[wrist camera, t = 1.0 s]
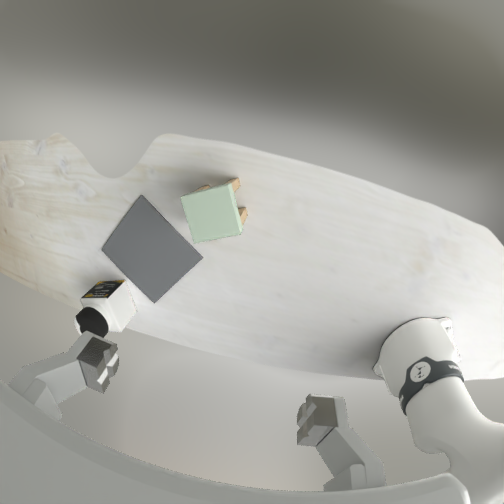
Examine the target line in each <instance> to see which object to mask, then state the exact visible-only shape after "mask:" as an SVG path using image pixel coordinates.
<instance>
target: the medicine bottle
mask: <svg viewBox="0 0 504 504" xmlns="http://www.w3.org/2000/svg"><path fill="white" fill-rule="evenodd" d="M80 301H81V303H82V306H83V309H82V310H81V311H80V312H79V313H78V314H77V315H76V317H75V319H74V324H75V328H76V330H77V331H78V333H79V334H80V335H82V333H83V332H85V331H89V332H91V333H93V334H95V335H98V336H100V337H102V338H104V336H105V335H106V334H107V333H108V331H109V332H122V330H123V329H124V328H125V326H126V325H127V324H128V323H129V321H130V320H131V319H132V317H133V316H134V315H135V314H136V312H137V309H136V307H135V304H134V301H133V299H132V296H131V294H130V291H129V288H128V286H127V283H126V281H125V280H115V281H100V282H98V283H97V284H96V285H95V286H94V287H93V288H91V289H90V290H89V291H88V292H87V293H86V294H85V295H84V296H83V297H82V298H81V299H80Z"/></svg>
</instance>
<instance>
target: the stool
mask: <svg viewBox="0 0 504 504" xmlns="http://www.w3.org/2000/svg"><path fill="white" fill-rule="evenodd" d="M239 187H240V183H239V179H238V178H236V179H232V180H229V181H228V182H227V183H225V184H223V185H219V186H215V187H211V188H210V186H209V185H207V186H203V187H201V188H199V189H197V190H196V191H194V192H192V193H188V194H185V195H183V196H182V197H180V199H181V202H182V205H183V209H184V212H185V215H186V219H187V222H188V225H189V229H190V232H191V235H192V238H193V241H194V244H195V243H200V242H205V241H210V240H215V239H220V238H225V237H230V236H236V235H241V233H242V231H243V227H242V226H243V224H244V222H245V220H246V218H247V216H248V214H247V210H246V208H241V209H238V207H237V203H236V200H235V196H234V192H235V191H236V190H237V189H238V188H239Z"/></svg>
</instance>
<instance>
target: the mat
mask: <svg viewBox="0 0 504 504" xmlns="http://www.w3.org/2000/svg"><path fill="white" fill-rule="evenodd" d="M102 251H103V252H104V253H105V254H106V255H107V256H108V257H109V258H110V260H111V261H112V262H113V263H114V264H115V265H116V266H117V267H118V268H119V269H120V270H121V271H122V272H123V273H124V274H125V275H126V276H127V277H128V278H129V279H130V280H131V281H132V282H133V283H134V284H135V285H136V286H137V287H138V288H139V289H140V290H141V291H142V292H143V293H144V294H145V295H146V296H147V297H148V298H149V299H150V300H151V301H152V302H153V303H155V302H156V301H158V300H159V299H160V298H161V297H162V296H163V295H164V294H165V293H166V292H167V291H168V290H169V289H170V288H171V287H172V286H173V285H174V284H175V283H177V282H178V281H179V280H180V279H181V278H182V277H183V276H184V275H185V274H186V273H187V272H188V271H189V270H190V269H191V268H193V267H194V266H195V265H196V264H197V263H198V262H199V261H200V260H201V259H202V258H203V257H202V256H201V255H200V254H199V253H198V252H197V251H196V250H195V249H194V248H193V247H192V246H191V245H190V244H189V243H188V242H187V241H186V240H185V239H184V238H183V237H182V236H181V235H180V234H179V233H178V232H177V231H176V230H175V229H174V228H173V227H172V226H171V225H170V224H169V223H168V222H167V220H166V219H165V218H164V217H163V216H162V215H161V214H160V213H159V212H158V211H157V210H156V209H155V208H154V207H153V206H152V205H151V204H150V203H149V202H148V201H147V200H146V199H145V198H144V197H143V195H141V196H140V198H139V199H138V200H137V201H136V203H135V204H134V205H133V207H132V208H131V209H130V210H129V212H128V213H127V214H126V216H125V217H124V219H123V220H122V221H121V223H120V224H119V225H118V227H117V228H116V230H115V231H114V232H113V234H112V235H111V237H110V238H109V240H108V241H107V242H106V244H105V245H104V247H103V248H102Z"/></svg>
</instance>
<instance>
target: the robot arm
mask: <svg viewBox="0 0 504 504" xmlns="http://www.w3.org/2000/svg"><path fill="white" fill-rule="evenodd" d="M117 350H118V348H117V344H115V343H113V342H111V341H108V340H106V339H104V338H102V337H100V336H98V335H95V334H93V333H91V332H89V331H85V332H83V333H82V335H81V336H80V337H79V338H78V340H77V341H76V342H75V343H74V344H73V346H72V347H71V348H70V349H69V351H68V352H67V353H64V352H63V353H61V354H58V355H55V356H52V357H49V358H47V359H44V360H41V361H38V362H35V363H32V364H29V365H26V366H23V367H22V368H21V369H20V371H19V372H18V373H17V374H16V376H15V377H14V378H13V379H12V381H11V382H10V383H9V384H8V385H7V384H5V383H4V382H3V381H1V379H0V504H503V503H504V423H497V422H494V421H491V420H489V419H488V418H486V417H485V416H483V415H482V414H481V413H480V411H479V410H478V409H477V407H476V406H475V404H474V403H473V401H472V399H471V397H470V395H469V393H468V391H467V390H466V388H465V386H464V384H463V383H464V379H463V376H462V373H461V371H460V369H459V368H458V366H457V363H458V362H460V361H461V357H460V355H459V351H458V349H457V348H456V346H455V344H454V339H453V331H452V323H451V320H450V319H449V318H448V317H445V318H441V319H432V318H419V319H415V320H412V321H410V322H408V323H406V324H404V325H402V326H401V327H399V328H398V329H396V330H395V331H394V332H393V333H392V334H391V335H390V336H389V337H388V338H387V340H386V341H385V342H384V344H383V346H382V348H381V351H380V357H379V360H378V362H377V363H376V364H375V366H374V368H373V370H374V373H375V374H376V375H378V376H380V377H381V378H383V379H384V380H385V382H386V385H387V388H388V391H389V393H390V394H391V395H394V396H395V397H398V398H399V401H400V406H401V409H402V410H403V413H404V414H405V415H406V416H407V418H408V422H409V426H410V429H411V433H412V437H413V440H414V444H415V446H416V447H417V448H418V449H419V450H421V451H422V452H425V453H429V454H435V453H445V454H446V455H447V457H448V458H449V461H450V468H449V469H448V470H446V471H445V472H443V473H441V474H440V475H436V476H432V477H428V478H425V479H420V480H416V481H411V482H406V483H401V484H396V485H390V486H387V485H386V479H385V473H384V467H383V462H382V461H381V460H380V459H379V458H378V456H377V455H376V454H375V453H374V452H373V451H372V450H371V449H370V447H369V446H368V445H367V444H366V443H365V442H364V441H363V440H362V438H361V437H360V436H359V435H358V434H357V433H356V432H355V431H354V429H353V428H349V422H348V416H347V409H346V404H345V399H344V398H343V397H334V396H327V395H317V394H309V395H308V396H307V398H306V403H304V404H302V405H301V407H300V409H299V412H298V415H297V424H298V425H299V427H300V429H299V430H298V432H297V445H305V446H315V447H316V449H317V451H318V452H319V454H320V455H321V457H322V459H323V460H324V462H325V463H326V465H327V467H328V468H329V470H330V471H331V473H332V474H333V476H334V478H333V479H331V480H330V481H328V482H327V483H326V484H324V491H318V492H315V491H314V492H313V491H312V492H310V491H283V490H270V489H260V488H252V487H244V486H237V485H231V484H226V483H221V482H215V481H211V480H206V479H202V478H197V477H194V476H190V475H186V474H182V473H178V472H175V471H172V470H168V469H165V468H162V467H159V466H156V465H153V464H150V463H147V462H144V461H142V460H139V459H136V458H134V457H131V456H129V455H126V454H124V453H121V452H119V451H117V450H114V449H112V448H110V447H108V446H105V445H103V444H101V443H99V442H97V441H95V440H93V439H91V438H89V437H87V436H85V435H83V434H81V433H79V432H77V431H76V430H74V429H72V428H70V427H68V426H66V425H65V424H63V423H62V422H60V421H59V420H60V418H61V417H62V413H61V411H60V410H59V408H58V406H57V404H58V403H60V402H62V401H64V400H65V399H67V398H69V397H71V396H73V395H74V394H76V393H78V392H80V391H82V390H84V389H85V388H87V387H89V388H92V389H94V390H96V391H98V392H101V393H103V394H104V392H105V390H106V389H107V387H108V385H109V384H110V381H109V378H110V377H112V376H114V375H115V373H116V372H117V369H118V366H119V356H118V355H117V354H116V351H117Z"/></svg>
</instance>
